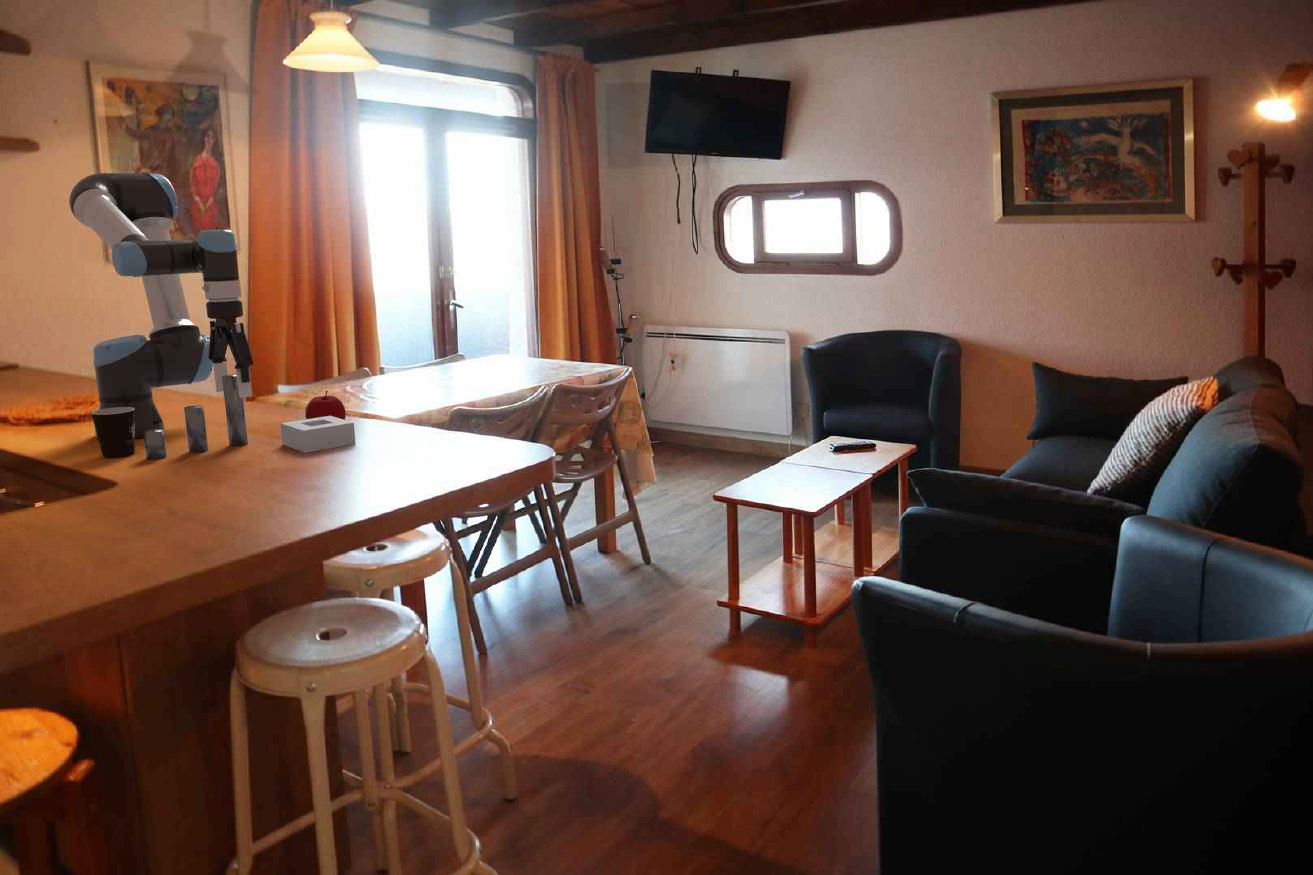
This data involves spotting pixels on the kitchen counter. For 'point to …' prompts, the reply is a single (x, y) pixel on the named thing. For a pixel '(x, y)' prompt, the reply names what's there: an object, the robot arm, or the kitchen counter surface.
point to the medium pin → (196, 429)
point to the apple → (325, 407)
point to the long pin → (234, 412)
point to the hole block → (318, 433)
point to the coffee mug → (115, 431)
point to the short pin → (155, 444)
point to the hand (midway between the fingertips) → (234, 394)
